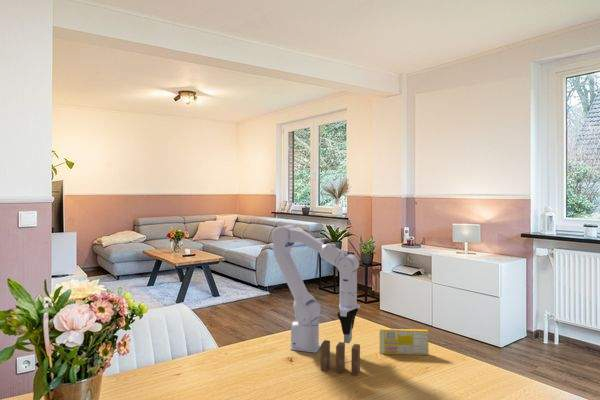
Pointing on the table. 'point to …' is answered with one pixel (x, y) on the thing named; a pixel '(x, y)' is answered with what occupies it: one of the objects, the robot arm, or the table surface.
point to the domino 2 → (340, 357)
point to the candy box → (403, 341)
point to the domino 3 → (348, 337)
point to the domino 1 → (325, 355)
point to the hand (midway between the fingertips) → (347, 331)
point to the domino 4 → (355, 360)
